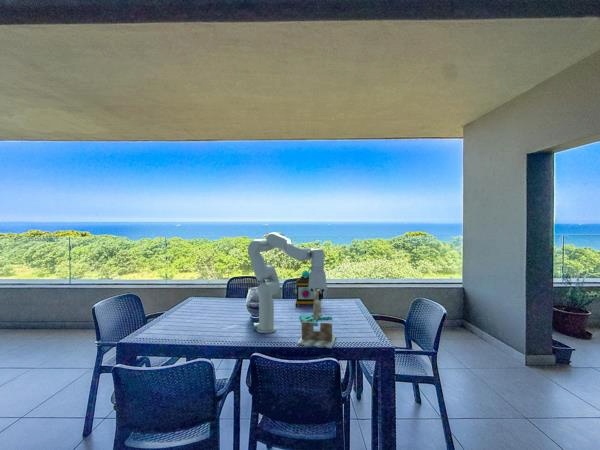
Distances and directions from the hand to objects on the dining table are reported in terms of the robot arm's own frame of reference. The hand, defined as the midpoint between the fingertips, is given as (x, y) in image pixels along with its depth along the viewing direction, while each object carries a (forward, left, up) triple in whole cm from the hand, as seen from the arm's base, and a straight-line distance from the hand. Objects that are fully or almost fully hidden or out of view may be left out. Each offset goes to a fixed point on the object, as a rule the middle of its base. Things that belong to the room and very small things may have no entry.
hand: (317, 299), depth 194 cm
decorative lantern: (-25, +80, -24) cm, 87 cm away
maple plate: (0, -1, -11) cm, 11 cm away
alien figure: (-11, +40, -25) cm, 48 cm away
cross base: (0, -2, -24) cm, 24 cm away
